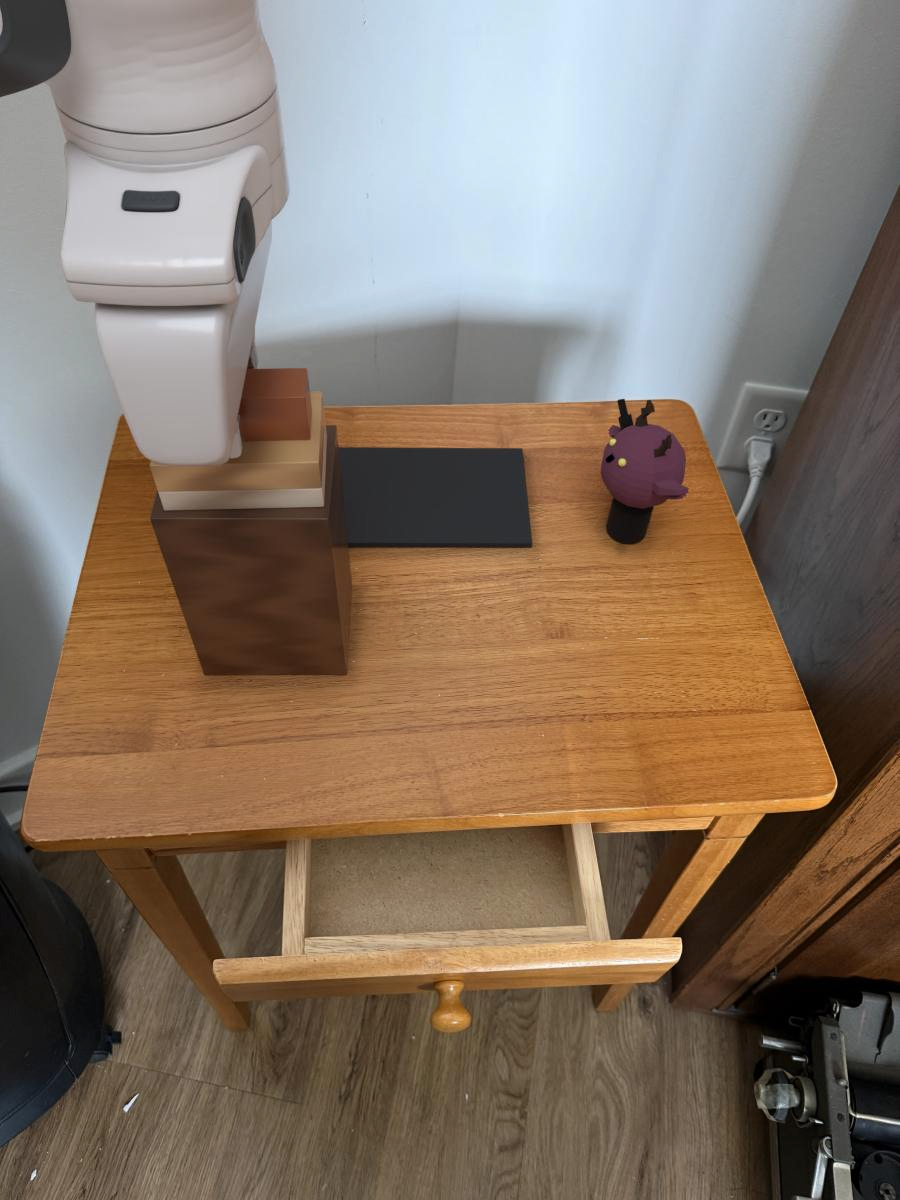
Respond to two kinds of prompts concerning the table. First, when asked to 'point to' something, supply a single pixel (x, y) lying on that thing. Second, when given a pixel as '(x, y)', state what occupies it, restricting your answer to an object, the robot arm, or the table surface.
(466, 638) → the table surface
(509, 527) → the mat
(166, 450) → the robot arm
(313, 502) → the stepped wooden block
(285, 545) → the riser
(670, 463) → the figurine
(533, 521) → the table surface
